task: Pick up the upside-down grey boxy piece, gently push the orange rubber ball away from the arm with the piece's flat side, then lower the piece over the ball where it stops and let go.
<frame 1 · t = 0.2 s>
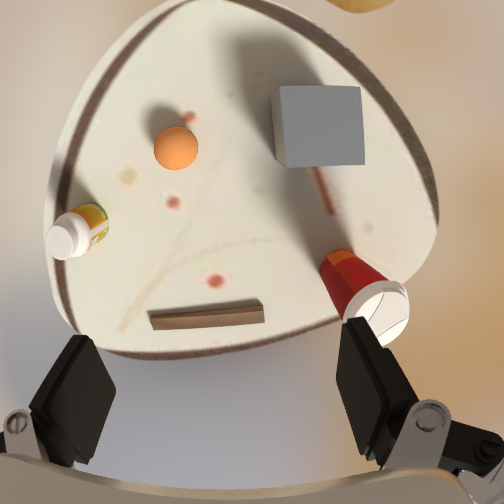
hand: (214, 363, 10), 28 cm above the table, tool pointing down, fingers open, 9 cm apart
grey boxy piece: (304, 126, 33), on the table
paper cup: (338, 267, 40), on the table
stopper: (207, 311, 42), on the table
ball: (175, 148, 31), on the table
supplement bottle: (94, 221, 36), on the table
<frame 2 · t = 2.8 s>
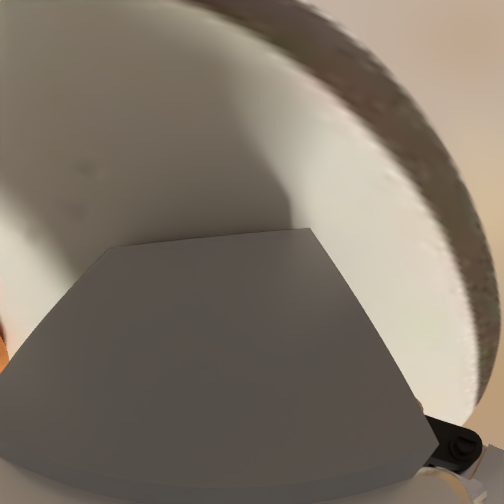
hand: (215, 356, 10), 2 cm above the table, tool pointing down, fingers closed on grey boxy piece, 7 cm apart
grey boxy piece: (218, 324, 12), on the table, touching gripper
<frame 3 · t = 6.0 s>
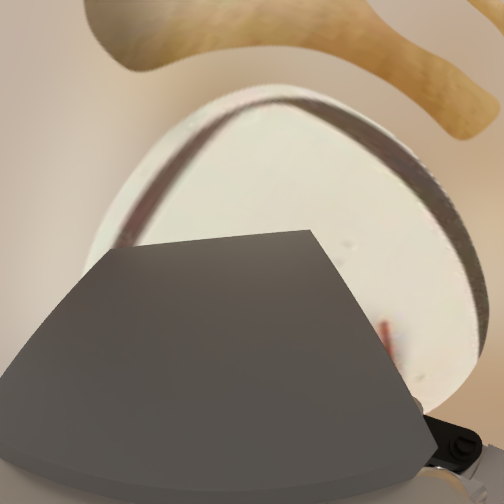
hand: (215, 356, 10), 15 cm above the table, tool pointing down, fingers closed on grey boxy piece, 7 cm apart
grey boxy piece: (218, 325, 12), point 13 cm above the table, touching gripper
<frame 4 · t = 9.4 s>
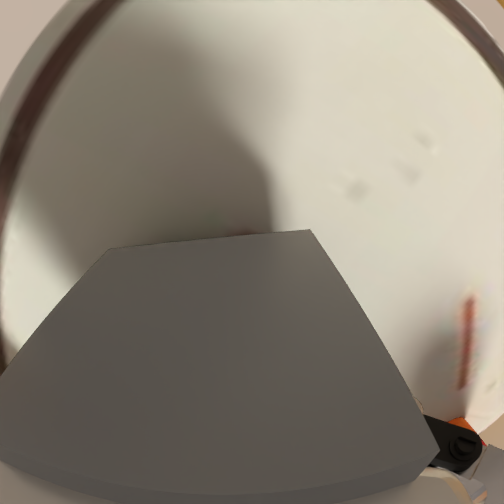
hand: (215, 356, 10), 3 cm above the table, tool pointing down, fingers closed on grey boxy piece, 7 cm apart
grey boxy piece: (218, 325, 12), point 1 cm above the table, touching gripper
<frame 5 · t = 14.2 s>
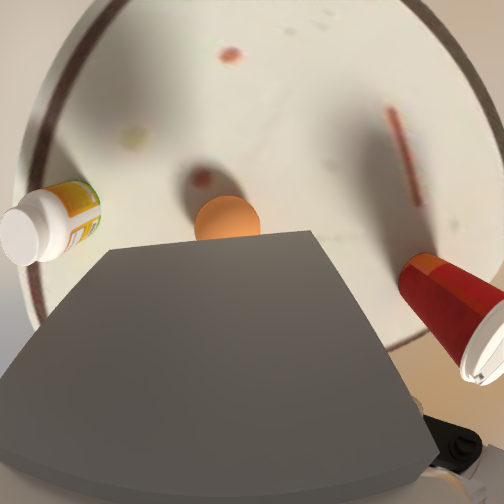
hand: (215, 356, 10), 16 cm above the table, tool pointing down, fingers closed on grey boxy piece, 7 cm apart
grey boxy piece: (218, 326, 12), point 14 cm above the table, touching gripper
paper cup: (418, 276, 28), on the table
ball: (227, 228, 23), on the table
supplement bottle: (80, 207, 24), on the table
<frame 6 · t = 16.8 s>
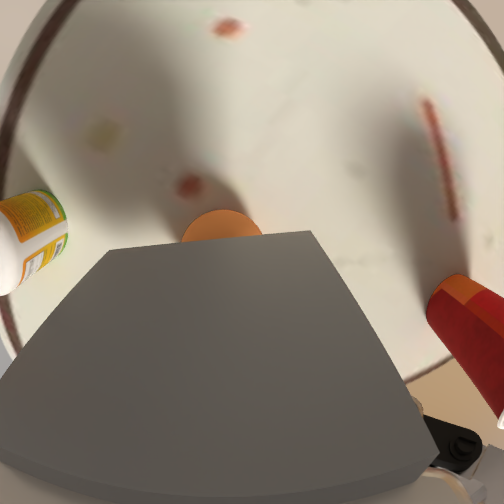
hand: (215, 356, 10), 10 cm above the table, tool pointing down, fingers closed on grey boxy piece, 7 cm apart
grey boxy piece: (218, 326, 12), point 8 cm above the table, touching gripper
paper cup: (447, 299, 22), on the table
ball: (223, 253, 17), on the table
supplement bottle: (46, 222, 18), on the table
when the fingers open (2 cm above the table, at t = 18.8 s): grey boxy piece stays where it is, on the table.
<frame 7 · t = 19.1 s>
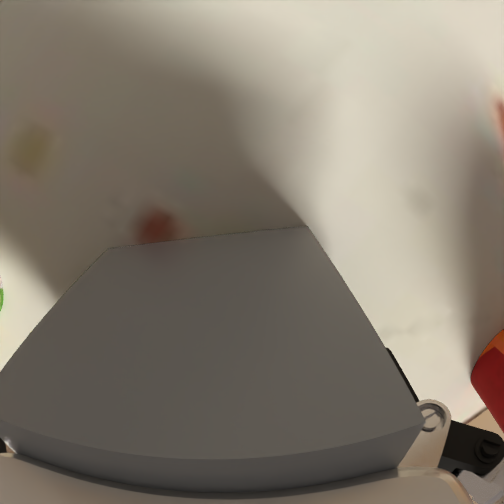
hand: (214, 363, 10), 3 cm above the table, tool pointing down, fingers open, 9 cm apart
grey boxy piece: (218, 318, 13), on the table
paper cup: (494, 353, 15), on the table
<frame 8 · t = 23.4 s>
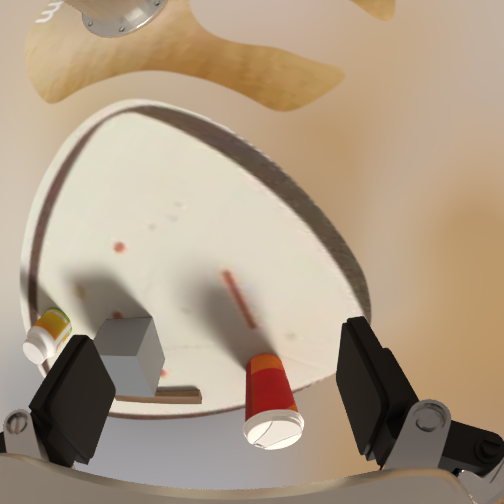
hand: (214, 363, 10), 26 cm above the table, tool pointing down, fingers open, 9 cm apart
grey boxy piece: (136, 337, 42), on the table
paper cup: (264, 365, 44), on the table
stopper: (157, 389, 46), on the table
supplement bottle: (60, 319, 40), on the table
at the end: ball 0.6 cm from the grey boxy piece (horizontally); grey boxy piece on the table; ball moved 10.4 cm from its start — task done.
